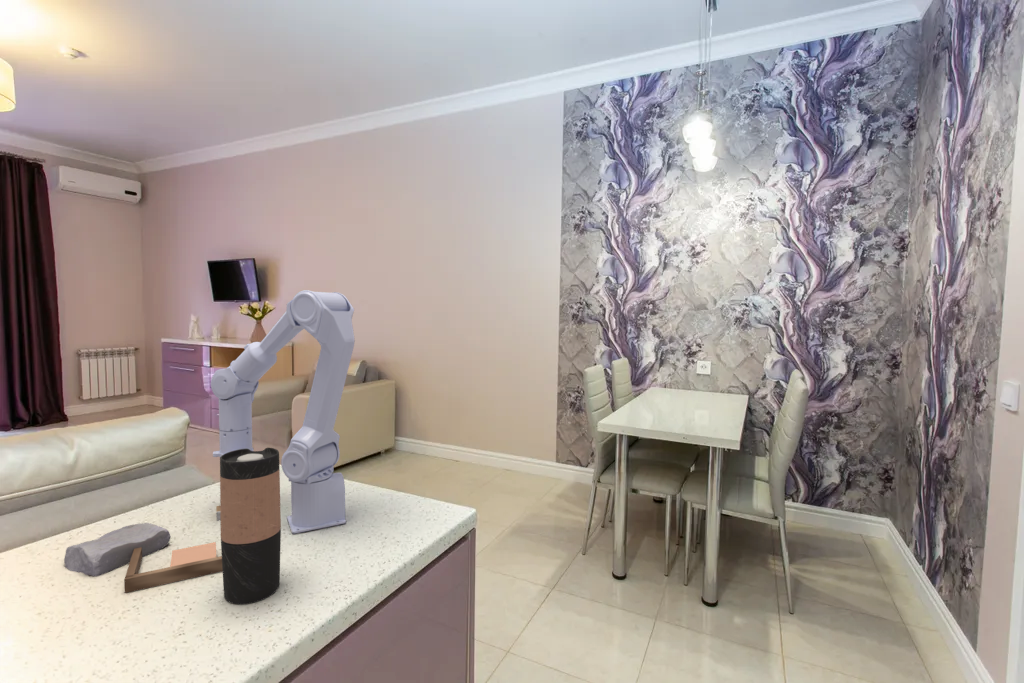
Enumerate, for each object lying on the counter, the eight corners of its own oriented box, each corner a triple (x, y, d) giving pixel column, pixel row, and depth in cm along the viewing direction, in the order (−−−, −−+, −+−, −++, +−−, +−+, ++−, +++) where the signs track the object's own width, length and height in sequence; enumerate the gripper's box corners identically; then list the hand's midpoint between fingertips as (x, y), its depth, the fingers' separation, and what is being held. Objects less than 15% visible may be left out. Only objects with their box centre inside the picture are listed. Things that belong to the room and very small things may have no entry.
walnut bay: (247, 538, 87) (247, 527, 87) (251, 564, 78) (251, 552, 78) (134, 560, 79) (134, 548, 79) (124, 593, 70) (124, 579, 70)
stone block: (57, 579, 77) (96, 579, 74) (53, 548, 77) (92, 547, 74) (138, 548, 88) (176, 547, 85) (134, 521, 88) (172, 519, 85)
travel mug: (240, 612, 66) (238, 465, 65) (210, 594, 70) (207, 456, 69) (292, 586, 73) (291, 452, 71) (262, 570, 77) (260, 444, 76)
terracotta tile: (215, 553, 83) (215, 541, 83) (216, 569, 78) (216, 557, 78) (172, 562, 80) (172, 550, 80) (170, 579, 75) (170, 567, 74)
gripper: (212, 423, 102) (213, 487, 103) (212, 438, 90) (213, 511, 91) (250, 419, 106) (251, 481, 107) (255, 434, 94) (257, 504, 94)
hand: (237, 495), depth 99 cm, fingers open, 7 cm apart
